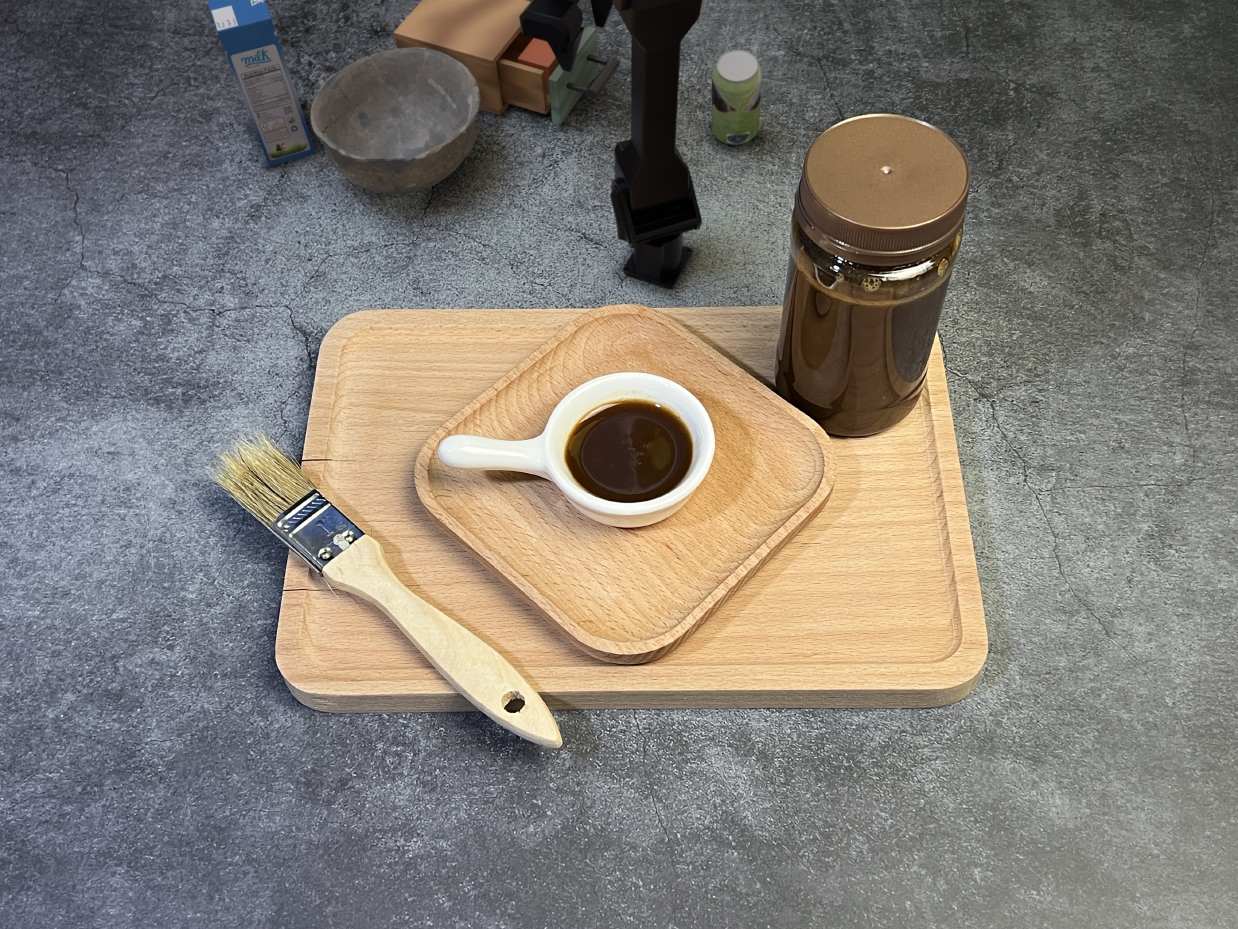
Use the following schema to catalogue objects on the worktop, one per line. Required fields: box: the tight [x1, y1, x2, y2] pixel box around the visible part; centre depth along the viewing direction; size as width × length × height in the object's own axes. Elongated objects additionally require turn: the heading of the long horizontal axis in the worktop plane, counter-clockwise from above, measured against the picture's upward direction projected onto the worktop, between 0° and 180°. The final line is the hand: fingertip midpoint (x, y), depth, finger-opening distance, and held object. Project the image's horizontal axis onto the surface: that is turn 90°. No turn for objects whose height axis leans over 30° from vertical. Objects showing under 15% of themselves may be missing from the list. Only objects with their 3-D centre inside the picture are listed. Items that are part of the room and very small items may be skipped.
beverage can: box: [711, 49, 763, 146], centre depth 137 cm, size 6×7×12 cm
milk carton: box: [206, 0, 317, 167], centre depth 136 cm, size 10×6×20 cm, turn 22°
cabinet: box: [393, 0, 531, 116], centre depth 147 cm, size 15×13×9 cm
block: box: [518, 38, 559, 95], centre depth 144 cm, size 4×4×4 cm
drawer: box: [496, 25, 621, 125], centre depth 144 cm, size 18×11×7 cm, turn 65°
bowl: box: [310, 47, 481, 196], centre depth 137 cm, size 21×21×10 cm
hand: (583, 48), depth 133 cm, fingers open, 9 cm apart
